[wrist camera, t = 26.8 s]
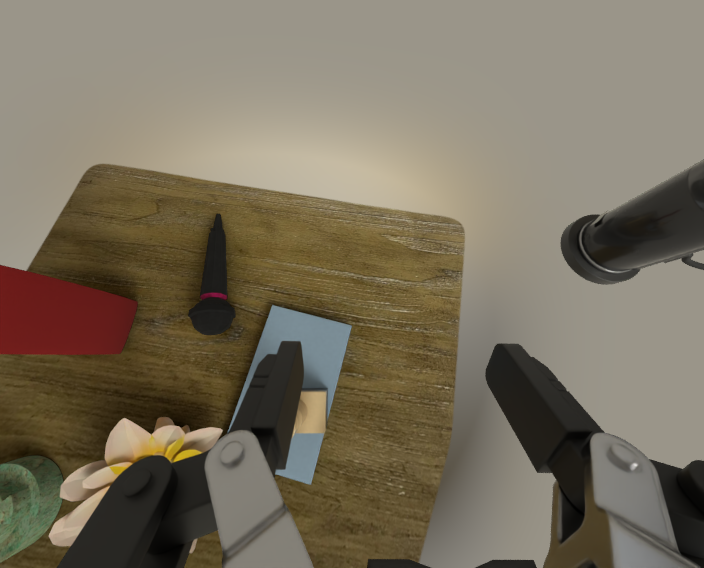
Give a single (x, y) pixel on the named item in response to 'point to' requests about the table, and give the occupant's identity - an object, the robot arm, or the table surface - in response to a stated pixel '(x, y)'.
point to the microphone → (213, 287)
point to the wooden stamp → (312, 411)
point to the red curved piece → (60, 316)
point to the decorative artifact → (27, 501)
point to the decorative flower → (125, 467)
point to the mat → (319, 372)
